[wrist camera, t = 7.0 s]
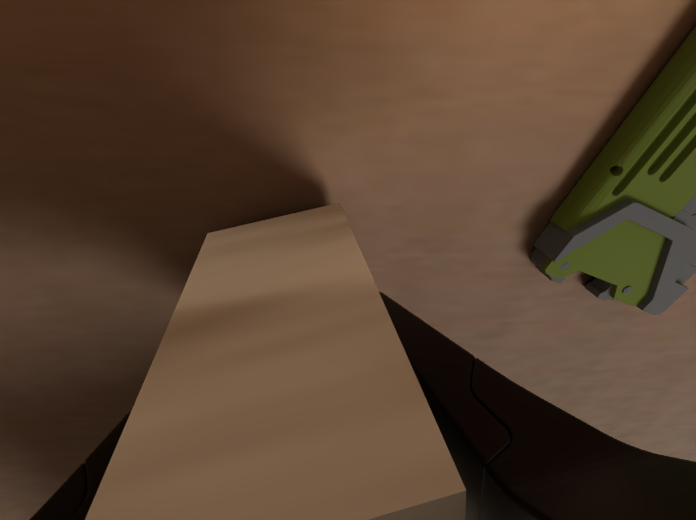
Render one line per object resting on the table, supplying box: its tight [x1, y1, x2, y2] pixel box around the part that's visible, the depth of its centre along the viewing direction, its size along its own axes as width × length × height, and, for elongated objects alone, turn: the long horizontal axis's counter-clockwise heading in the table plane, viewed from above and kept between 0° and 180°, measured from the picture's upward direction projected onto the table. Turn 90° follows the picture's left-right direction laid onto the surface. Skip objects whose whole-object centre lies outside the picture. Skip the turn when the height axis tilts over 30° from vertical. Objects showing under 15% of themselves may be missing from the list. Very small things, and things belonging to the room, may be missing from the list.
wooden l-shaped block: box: [85, 203, 466, 520], centre depth 11 cm, size 16×4×8 cm, turn 10°
